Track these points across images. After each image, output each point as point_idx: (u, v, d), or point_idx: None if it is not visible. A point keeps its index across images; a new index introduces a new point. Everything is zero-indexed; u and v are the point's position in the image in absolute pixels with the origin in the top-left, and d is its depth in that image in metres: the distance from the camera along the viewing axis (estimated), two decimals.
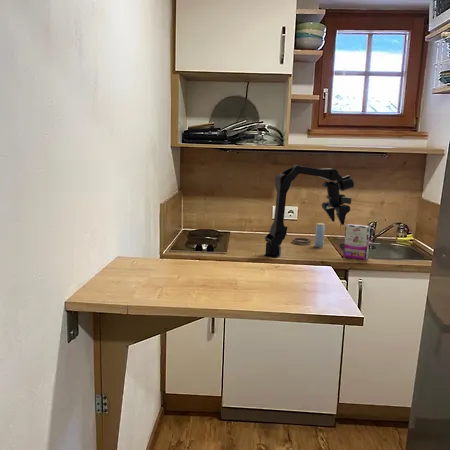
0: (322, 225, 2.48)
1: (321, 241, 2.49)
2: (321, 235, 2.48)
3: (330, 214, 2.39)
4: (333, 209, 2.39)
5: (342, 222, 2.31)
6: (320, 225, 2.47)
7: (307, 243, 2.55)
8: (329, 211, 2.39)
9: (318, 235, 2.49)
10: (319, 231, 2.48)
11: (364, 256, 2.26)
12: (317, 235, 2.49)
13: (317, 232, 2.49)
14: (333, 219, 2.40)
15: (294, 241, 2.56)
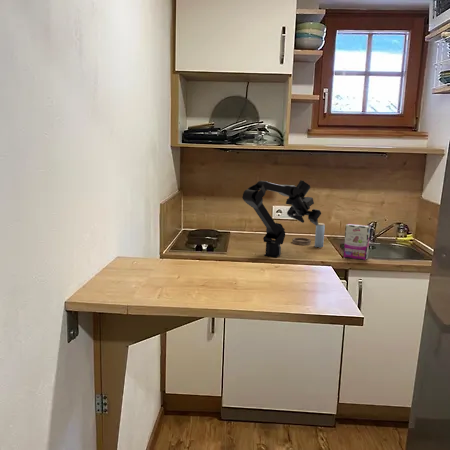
0: (322, 225, 2.48)
1: (321, 241, 2.49)
2: (321, 235, 2.48)
3: (299, 218, 2.45)
4: None
5: (316, 223, 2.39)
6: (320, 225, 2.47)
7: (307, 243, 2.55)
8: (297, 216, 2.44)
9: (318, 235, 2.49)
10: (319, 231, 2.48)
11: (364, 256, 2.26)
12: (317, 235, 2.49)
13: (317, 232, 2.49)
14: (302, 220, 2.47)
15: (294, 241, 2.56)
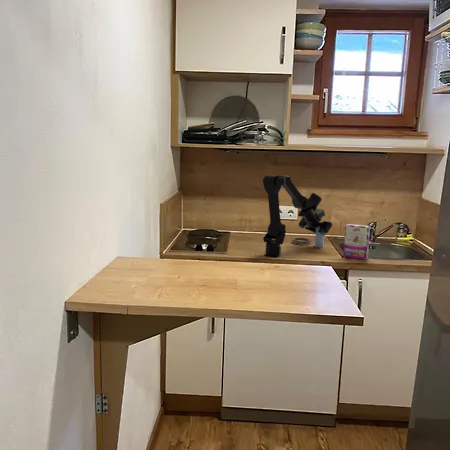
0: None
1: (321, 241, 2.49)
2: (321, 235, 2.48)
3: (313, 230, 2.51)
4: None
5: (324, 234, 2.48)
6: None
7: (307, 243, 2.55)
8: (311, 228, 2.50)
9: (318, 235, 2.49)
10: None
11: (364, 256, 2.26)
12: (317, 235, 2.49)
13: (317, 232, 2.49)
14: None
15: (294, 241, 2.56)
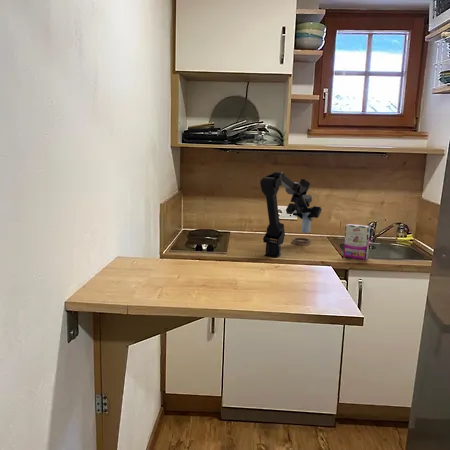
0: None
1: (309, 226, 2.53)
2: (309, 220, 2.52)
3: (300, 216, 2.54)
4: None
5: (311, 219, 2.53)
6: None
7: (307, 243, 2.55)
8: (299, 214, 2.53)
9: (306, 220, 2.52)
10: (306, 217, 2.52)
11: (364, 256, 2.26)
12: (305, 220, 2.53)
13: (305, 218, 2.52)
14: None
15: (294, 241, 2.56)
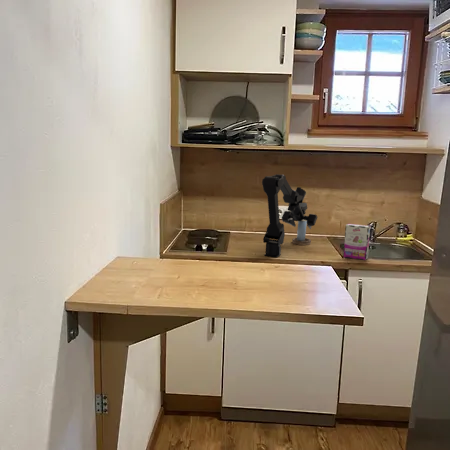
0: (305, 221, 2.54)
1: (304, 237, 2.56)
2: (304, 231, 2.55)
3: (292, 223, 2.57)
4: None
5: None
6: (303, 221, 2.53)
7: (307, 243, 2.55)
8: (291, 221, 2.56)
9: (301, 231, 2.54)
10: (302, 227, 2.54)
11: (364, 256, 2.26)
12: (300, 231, 2.55)
13: (300, 228, 2.54)
14: (294, 225, 2.59)
15: (294, 241, 2.56)
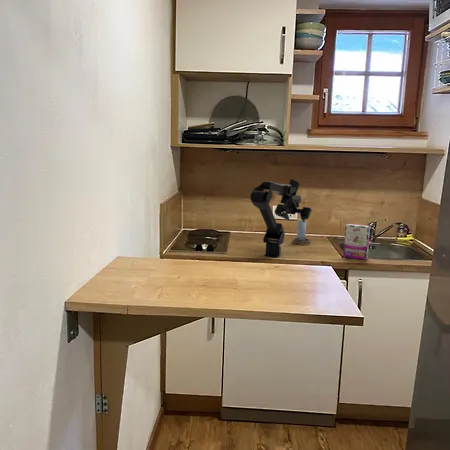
0: None
1: (304, 236, 2.56)
2: (304, 230, 2.55)
3: (285, 216, 2.48)
4: None
5: (305, 220, 2.45)
6: None
7: (307, 243, 2.55)
8: (284, 215, 2.47)
9: (301, 231, 2.55)
10: (302, 227, 2.54)
11: (364, 256, 2.26)
12: (300, 231, 2.55)
13: (300, 228, 2.54)
14: (288, 218, 2.51)
15: (294, 241, 2.56)
